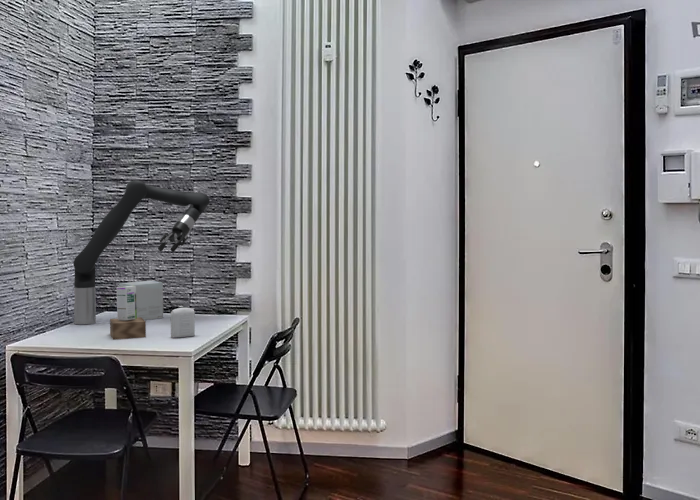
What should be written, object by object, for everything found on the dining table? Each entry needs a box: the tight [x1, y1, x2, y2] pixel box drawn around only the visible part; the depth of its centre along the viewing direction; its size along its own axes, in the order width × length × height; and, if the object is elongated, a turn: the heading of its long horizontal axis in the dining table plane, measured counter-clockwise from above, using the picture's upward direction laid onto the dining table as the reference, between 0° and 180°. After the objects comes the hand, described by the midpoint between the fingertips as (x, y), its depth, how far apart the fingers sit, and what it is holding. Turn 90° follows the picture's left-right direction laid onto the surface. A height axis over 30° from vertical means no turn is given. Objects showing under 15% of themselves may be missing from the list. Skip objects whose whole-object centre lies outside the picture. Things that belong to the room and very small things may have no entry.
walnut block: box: [109, 317, 147, 340], centre depth 288 cm, size 13×13×7 cm
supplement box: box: [118, 280, 164, 321], centre depth 334 cm, size 17×13×18 cm
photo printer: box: [170, 307, 196, 339], centre depth 286 cm, size 10×4×12 cm, turn 126°
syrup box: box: [116, 285, 137, 321], centre depth 288 cm, size 6×6×14 cm
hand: (165, 250), depth 319 cm, fingers open, 8 cm apart
